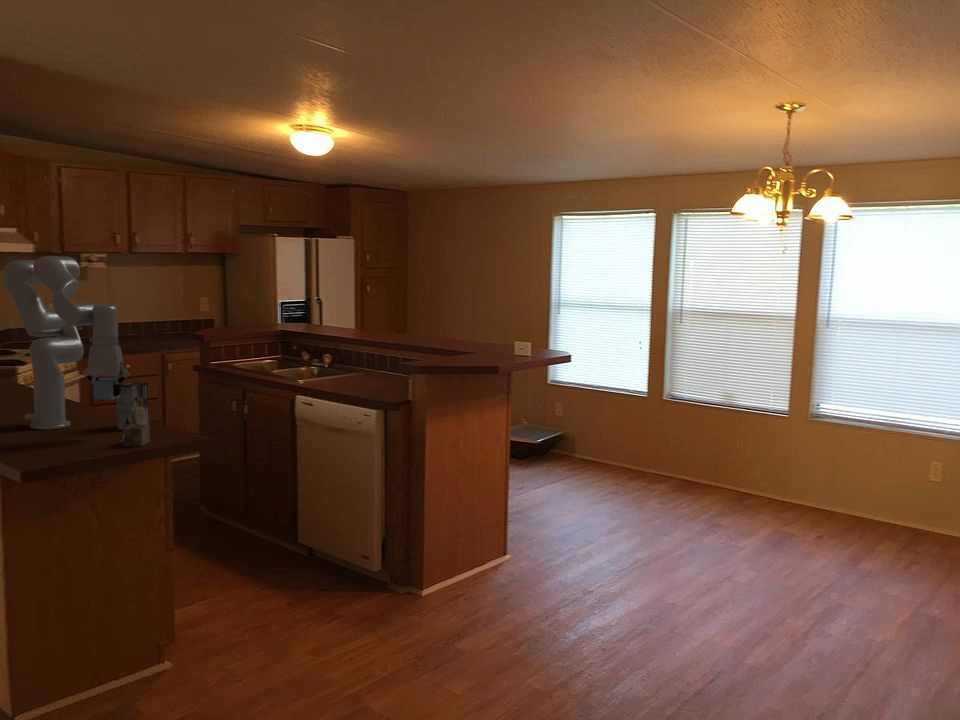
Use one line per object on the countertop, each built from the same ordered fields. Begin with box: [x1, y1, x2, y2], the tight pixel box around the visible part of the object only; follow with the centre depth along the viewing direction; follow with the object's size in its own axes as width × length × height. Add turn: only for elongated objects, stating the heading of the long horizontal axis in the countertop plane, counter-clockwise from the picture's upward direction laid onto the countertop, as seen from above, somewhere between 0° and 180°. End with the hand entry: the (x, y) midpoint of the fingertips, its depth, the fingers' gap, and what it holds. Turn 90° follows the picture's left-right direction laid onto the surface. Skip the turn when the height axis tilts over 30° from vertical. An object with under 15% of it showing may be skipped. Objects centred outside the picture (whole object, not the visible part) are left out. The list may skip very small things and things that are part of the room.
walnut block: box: [122, 424, 151, 447], centre depth 251 cm, size 6×6×6 cm
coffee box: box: [116, 381, 150, 430], centre depth 274 cm, size 9×6×16 cm
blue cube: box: [92, 378, 120, 400], centre depth 256 cm, size 6×6×6 cm
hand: (106, 394), depth 256 cm, fingers closed on blue cube, 6 cm apart
